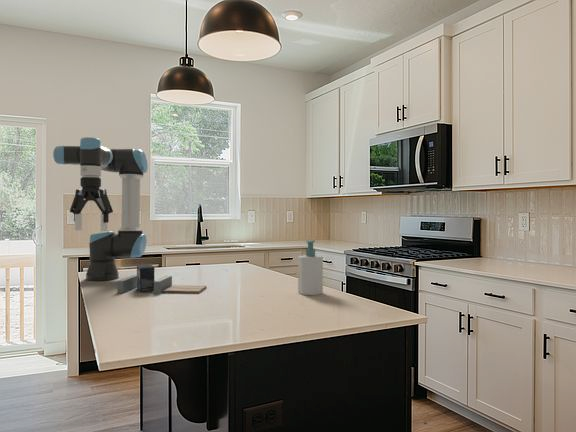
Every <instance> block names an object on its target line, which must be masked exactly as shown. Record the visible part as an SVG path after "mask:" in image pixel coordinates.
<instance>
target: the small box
mask: <svg viewBox="0 0 576 432" xmlns="http://www.w3.org/2000/svg"><path fill="white" fill-rule="evenodd" d="M136 275H137V287H136V289H137V290H138V291H139V293H151V292H152V291H154V281H156V280H155V266H153V265H152V264H151V263H150V264H149V263H148V264H137V265H136Z"/></svg>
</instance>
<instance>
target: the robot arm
mask: <svg viewBox="0 0 576 432" xmlns="http://www.w3.org/2000/svg"><path fill="white" fill-rule="evenodd" d="M79 141H80V143H79V145H75V146H74V145H57V146H55V148H54V149H53V151H52V153H53V160H54V162H55V163H56V164H58V165H74V166H75V165H76V166H79V168H80V169H79V170H80V172H79V173H80V176H81V177H80V178H79V179H80V187H81V188H82V189H80V188H79V189H75V194H74V198H73V201H72V204H71V206H70V208H69V212H70V213H73V221H74V231H82V230H83V222H82V221H83V217H82V216H83V215H82V210H83V209H84V208H85V206H86V204H87V203H88V202H89V201H91V202H94V203H95V204H96V206H97V208H98V209H99V210H100V212H101V214H100V232H96V233H92V234H90V235H89V243H88V245H89V265H88V267H87V271H86V274H85V280H87V281H110V280H116V279H119V278H120V277H119V274H120V273H119V271H118V267H117V264H116V258H132V259H134V258H141V257H142V256H143V255H144V253H145V251H146V247H147V235H146V234H145V233H143V232H144V231H143V229H142V228H141V227H140V224H141V223H140V222H141V221H140V217H141V216H140V213H141V211H140V210H141V209H140V208H141V207H140V205H141V179H143V178H144V174H145V173H147V172H148V166H149V165H148V159H147V155H146V154H145V152H144V151H143V150H142V149H137V148H107V147H105V146H102V143H101V139H100V138H98V137H89V136H88V137H87V136H86V137H82V138H80V140H79ZM102 171H104V172H108V173H118V176H119V177H120V178H121V219H120V220H121V227H120V228H119V229H118V230H117V233H116V232H115V231H113V230H111V231H108V224H109V216H110V214H111V213H113V212H114V209H113V207H112V205H111V201H110V200H109V196H108V194H107V189H106V188H101V187H102V178H101V177H102Z"/></svg>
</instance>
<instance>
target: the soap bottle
mask: <svg viewBox="0 0 576 432" xmlns="http://www.w3.org/2000/svg"><path fill="white" fill-rule="evenodd" d="M305 242H306V243H307V248H305V255H299V256H298V257H297V258H298V259H297V261H298V263H297V266H298V268H297V271H298V272H297V278H298V280H297V286H298V287H297V292H298V293H299V294H301V295H302V296H317V295H322V294H323V293H324V292H323V291H324V290H323V289H324V286H323V285H324V283H323V282H324V281H323V279H324V278H323V277H324V275H323V274H324V271H323V270H324V267H323V266H324V265H323V264H324V258H323V256H321V255H318V254H317V255H316V249H315V248H314V243H316V241H315V240H311V239H308V240H306V241H305Z"/></svg>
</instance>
